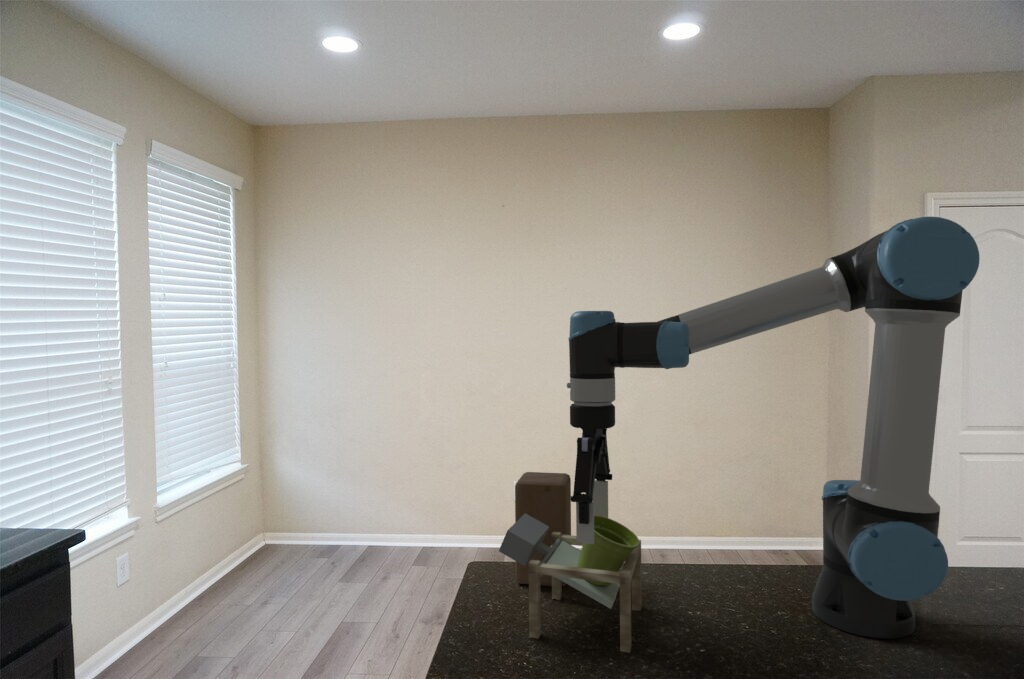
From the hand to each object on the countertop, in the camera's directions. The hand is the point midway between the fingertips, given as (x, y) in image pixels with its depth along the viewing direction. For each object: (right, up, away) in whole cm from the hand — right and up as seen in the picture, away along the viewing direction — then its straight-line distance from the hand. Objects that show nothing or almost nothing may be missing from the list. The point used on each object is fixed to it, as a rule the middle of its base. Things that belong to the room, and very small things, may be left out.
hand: (593, 529), depth 102 cm
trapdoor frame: (-1, -16, +1) cm, 16 cm away
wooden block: (-7, -16, +19) cm, 26 cm away
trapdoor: (-6, -8, +2) cm, 10 cm away
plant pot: (0, -8, -1) cm, 8 cm away
